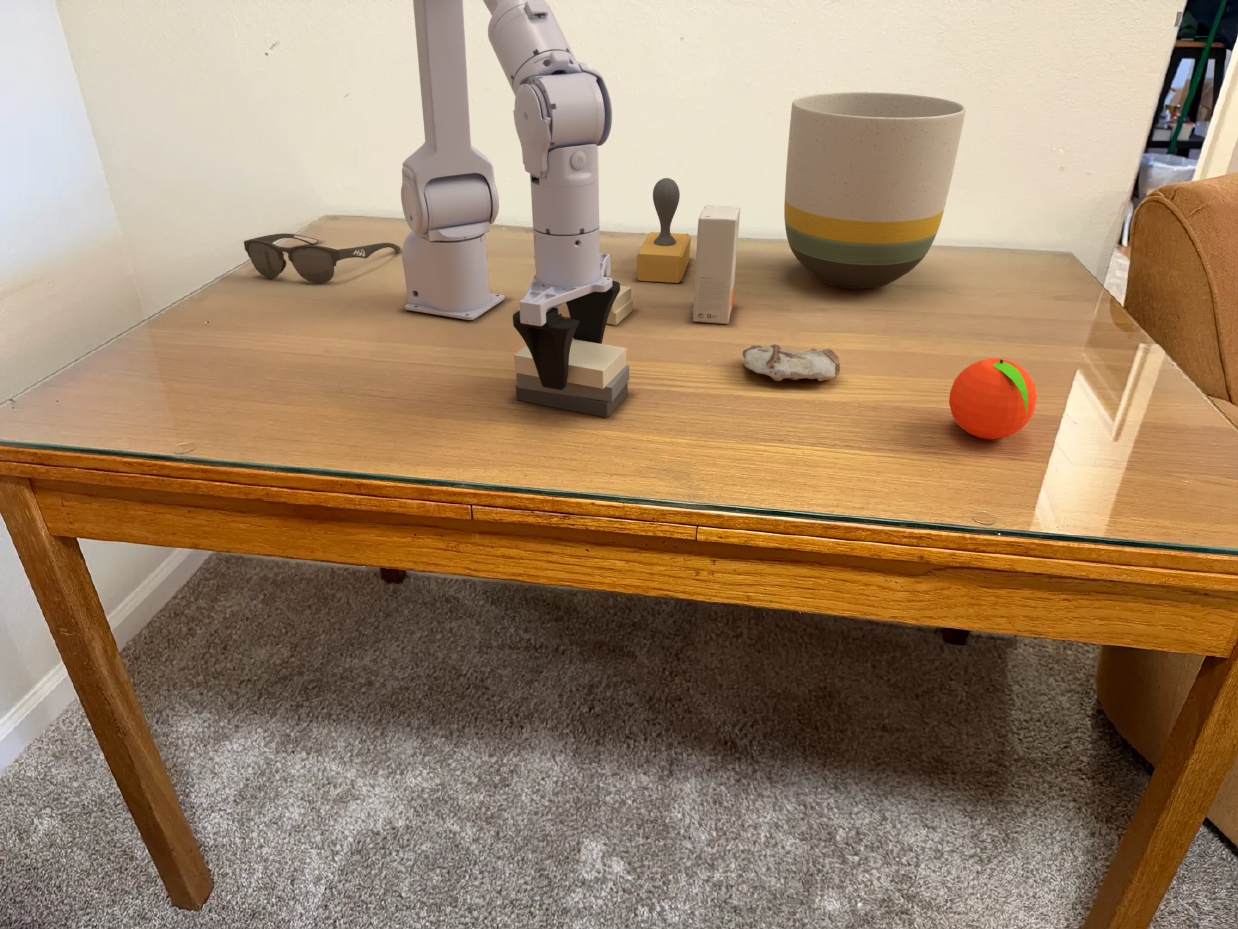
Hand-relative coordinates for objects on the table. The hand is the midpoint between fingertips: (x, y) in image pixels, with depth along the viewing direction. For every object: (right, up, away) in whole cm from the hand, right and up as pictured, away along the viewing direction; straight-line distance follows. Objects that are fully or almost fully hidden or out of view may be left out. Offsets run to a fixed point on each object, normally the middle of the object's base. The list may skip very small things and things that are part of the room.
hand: (571, 370), depth 80 cm
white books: (+1, +9, +21) cm, 23 cm away
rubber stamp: (+11, +17, +34) cm, 39 cm away
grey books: (0, -2, +1) cm, 3 cm away
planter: (+35, +15, +30) cm, 48 cm away
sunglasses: (-36, +19, +37) cm, 55 cm away
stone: (+22, 0, +6) cm, 22 cm away
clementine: (+37, -7, -5) cm, 38 cm away
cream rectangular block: (0, 0, 0) cm, 0 cm away
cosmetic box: (+16, +9, +20) cm, 27 cm away
